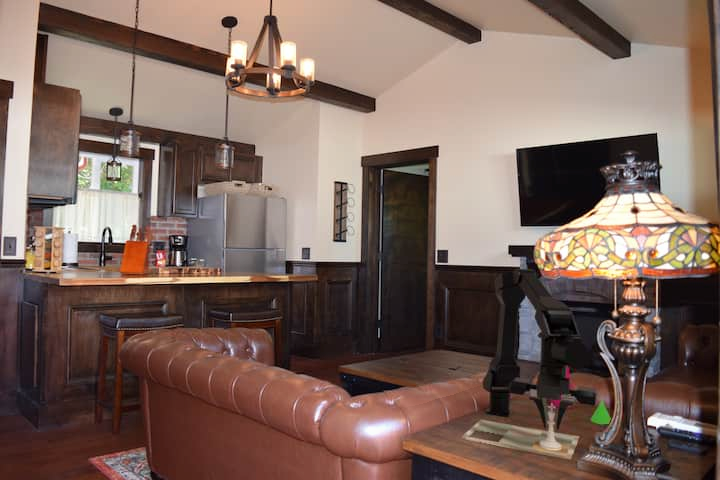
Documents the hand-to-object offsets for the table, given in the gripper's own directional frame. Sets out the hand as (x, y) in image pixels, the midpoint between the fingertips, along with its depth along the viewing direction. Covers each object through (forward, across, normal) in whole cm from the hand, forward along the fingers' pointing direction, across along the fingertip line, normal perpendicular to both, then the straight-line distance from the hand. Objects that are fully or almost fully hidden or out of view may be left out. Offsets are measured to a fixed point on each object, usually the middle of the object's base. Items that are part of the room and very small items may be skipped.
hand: (551, 428), depth 127 cm
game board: (+5, -7, +4) cm, 10 cm away
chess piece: (+4, 0, 0) cm, 4 cm away
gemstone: (+5, +9, +32) cm, 33 cm away
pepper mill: (+5, -3, +43) cm, 43 cm away
